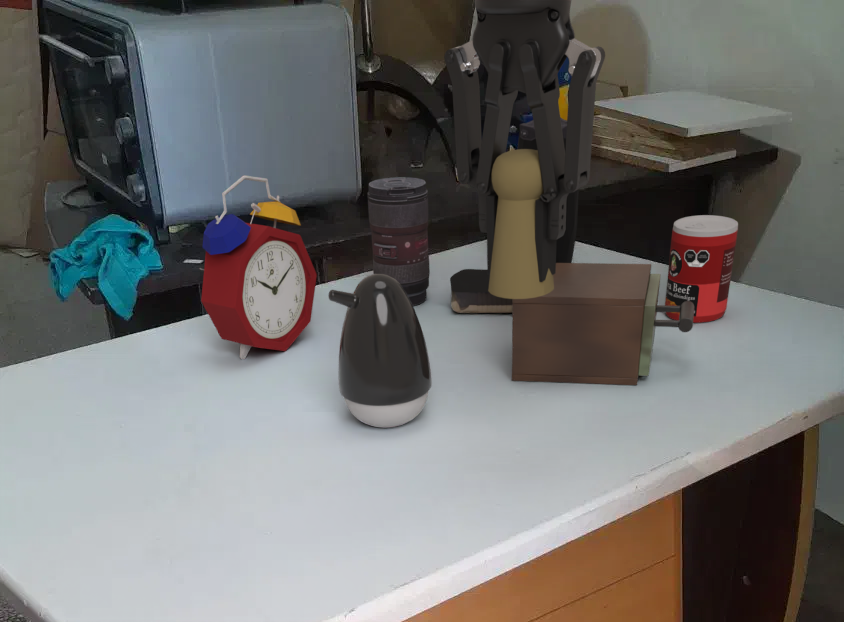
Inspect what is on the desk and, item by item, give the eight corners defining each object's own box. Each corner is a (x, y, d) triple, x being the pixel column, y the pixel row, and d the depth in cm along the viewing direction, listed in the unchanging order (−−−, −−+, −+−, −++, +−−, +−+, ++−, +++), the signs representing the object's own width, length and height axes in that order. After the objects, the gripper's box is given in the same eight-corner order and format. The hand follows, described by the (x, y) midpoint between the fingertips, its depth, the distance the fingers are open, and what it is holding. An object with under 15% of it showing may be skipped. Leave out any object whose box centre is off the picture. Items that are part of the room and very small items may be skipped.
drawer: (689, 341, 124) (698, 274, 119) (686, 377, 116) (695, 306, 110) (544, 337, 127) (546, 271, 122) (531, 372, 119) (533, 302, 114)
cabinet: (643, 346, 126) (651, 263, 120) (636, 385, 117) (644, 298, 111) (527, 342, 129) (528, 262, 123) (511, 380, 120) (512, 296, 113)
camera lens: (438, 304, 142) (434, 185, 132) (382, 312, 140) (374, 192, 130) (423, 288, 148) (418, 172, 138) (369, 295, 146) (360, 179, 136)
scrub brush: (570, 295, 142) (571, 267, 139) (566, 316, 135) (567, 287, 133) (455, 295, 144) (454, 268, 142) (446, 315, 138) (445, 287, 136)
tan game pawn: (477, 284, 94) (474, 150, 87) (536, 274, 95) (538, 140, 88) (505, 303, 90) (504, 162, 82) (566, 291, 91) (570, 152, 84)
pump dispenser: (330, 410, 116) (314, 268, 106) (416, 394, 118) (408, 254, 108) (355, 444, 109) (340, 296, 99) (446, 427, 111) (441, 280, 101)
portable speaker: (531, 263, 154) (535, 113, 141) (586, 271, 150) (594, 117, 137) (501, 278, 149) (502, 124, 136) (556, 287, 145) (563, 129, 132)
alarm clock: (246, 370, 127) (217, 192, 113) (198, 357, 131) (165, 184, 118) (324, 333, 135) (305, 164, 122) (277, 323, 139) (254, 158, 126)
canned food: (653, 309, 136) (662, 219, 129) (707, 301, 137) (718, 211, 130) (681, 327, 130) (692, 234, 123) (736, 318, 132) (750, 225, 125)
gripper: (649, -62, 75) (626, 272, 90) (451, -55, 82) (460, 253, 98) (607, -53, 70) (590, 298, 86) (401, -46, 78) (419, 276, 93)
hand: (521, 273), depth 92 cm, fingers closed on tan game pawn, 4 cm apart
